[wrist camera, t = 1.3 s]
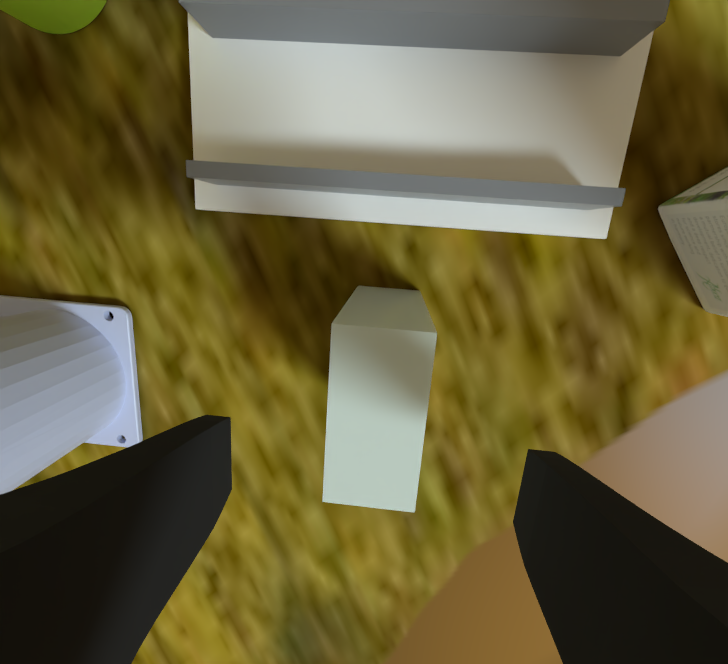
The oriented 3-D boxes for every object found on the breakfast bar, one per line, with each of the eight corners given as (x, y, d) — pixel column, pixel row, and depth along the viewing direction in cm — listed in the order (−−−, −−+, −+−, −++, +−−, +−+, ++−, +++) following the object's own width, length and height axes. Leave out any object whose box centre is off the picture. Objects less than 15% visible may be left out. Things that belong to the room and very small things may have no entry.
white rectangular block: (407, 404, 20) (414, 512, 12) (350, 398, 20) (322, 501, 12) (419, 290, 18) (437, 332, 11) (358, 285, 19) (331, 323, 11)
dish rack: (206, 210, 18) (162, 205, 15) (193, -172, 15) (132, -293, 11) (594, 238, 17) (642, 240, 14) (683, -167, 14) (778, -298, 10)
